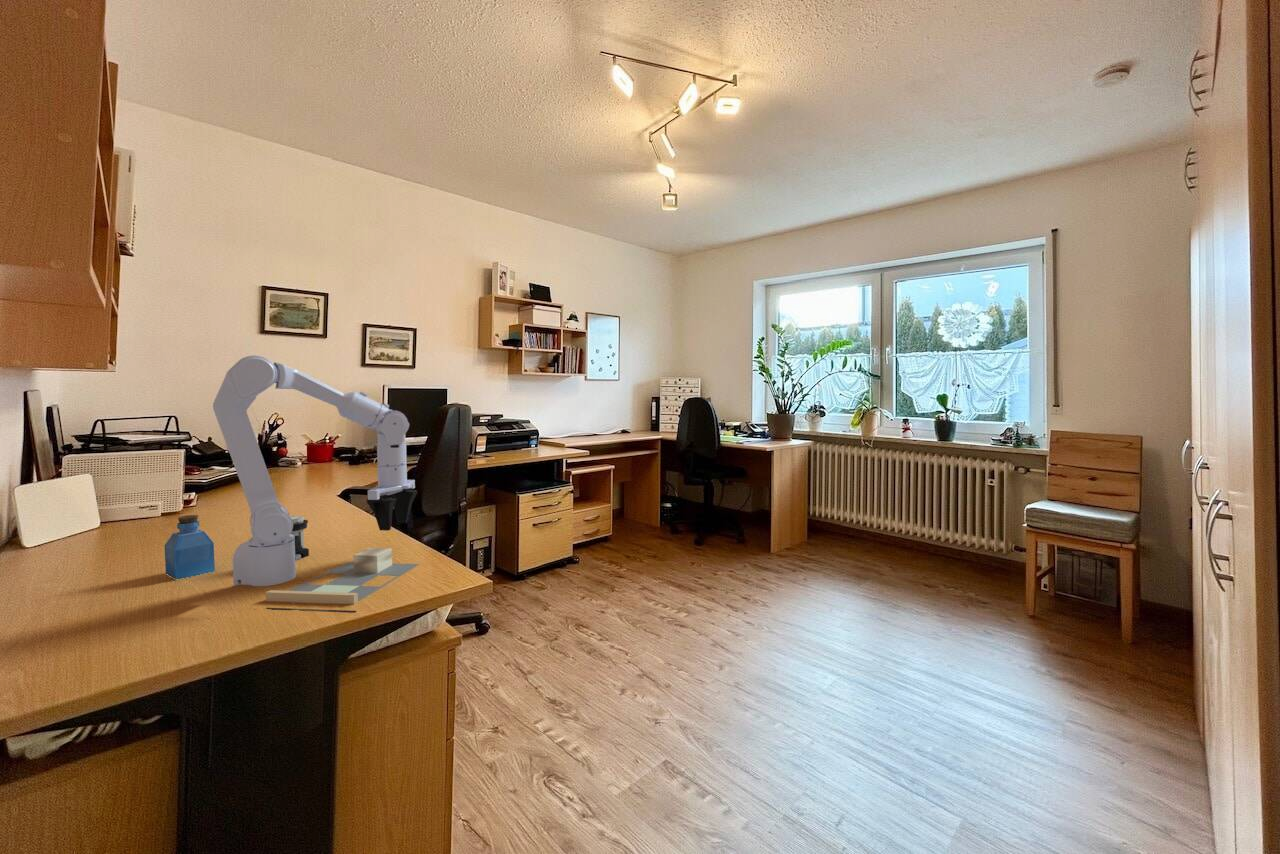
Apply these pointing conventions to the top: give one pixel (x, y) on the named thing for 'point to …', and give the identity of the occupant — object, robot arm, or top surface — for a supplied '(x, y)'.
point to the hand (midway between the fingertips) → (393, 526)
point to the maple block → (372, 560)
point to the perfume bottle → (189, 550)
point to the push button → (299, 537)
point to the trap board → (337, 587)
